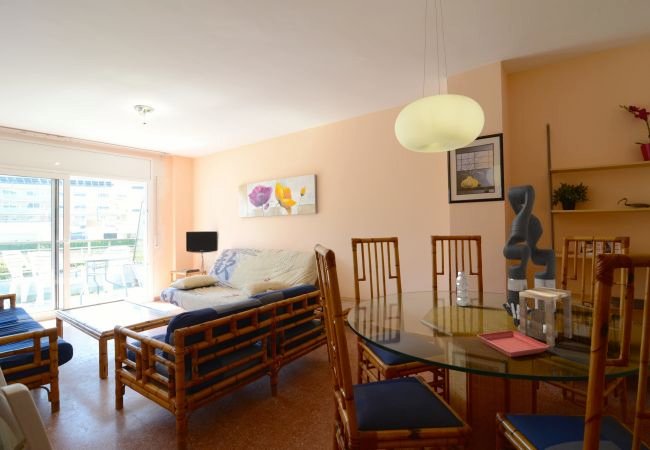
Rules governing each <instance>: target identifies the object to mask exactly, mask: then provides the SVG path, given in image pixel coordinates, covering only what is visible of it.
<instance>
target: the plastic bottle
mask: <svg viewBox="0 0 650 450" xmlns="http://www.w3.org/2000/svg"><path fill="white" fill-rule="evenodd" d="M455 284H456V285H455V286H456V290H457V291H456V293H457V294H456V304H457V306H460V307H468V306H469V304H470V300H469V296H468V285H469V280H468V278H467V277H466V271H463V270H462V271H461V270H460V271H458V273H457V277H456V279H455Z"/></svg>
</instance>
